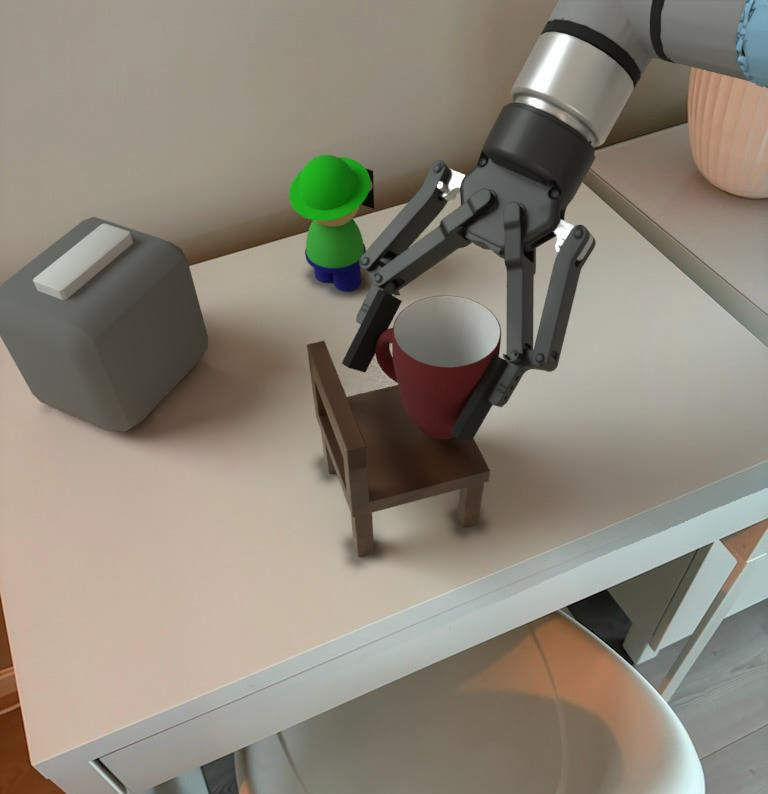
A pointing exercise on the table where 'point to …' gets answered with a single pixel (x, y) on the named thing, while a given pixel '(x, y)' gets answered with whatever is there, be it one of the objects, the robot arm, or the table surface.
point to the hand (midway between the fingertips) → (405, 401)
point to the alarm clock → (103, 323)
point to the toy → (333, 216)
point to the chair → (388, 452)
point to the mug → (438, 358)
